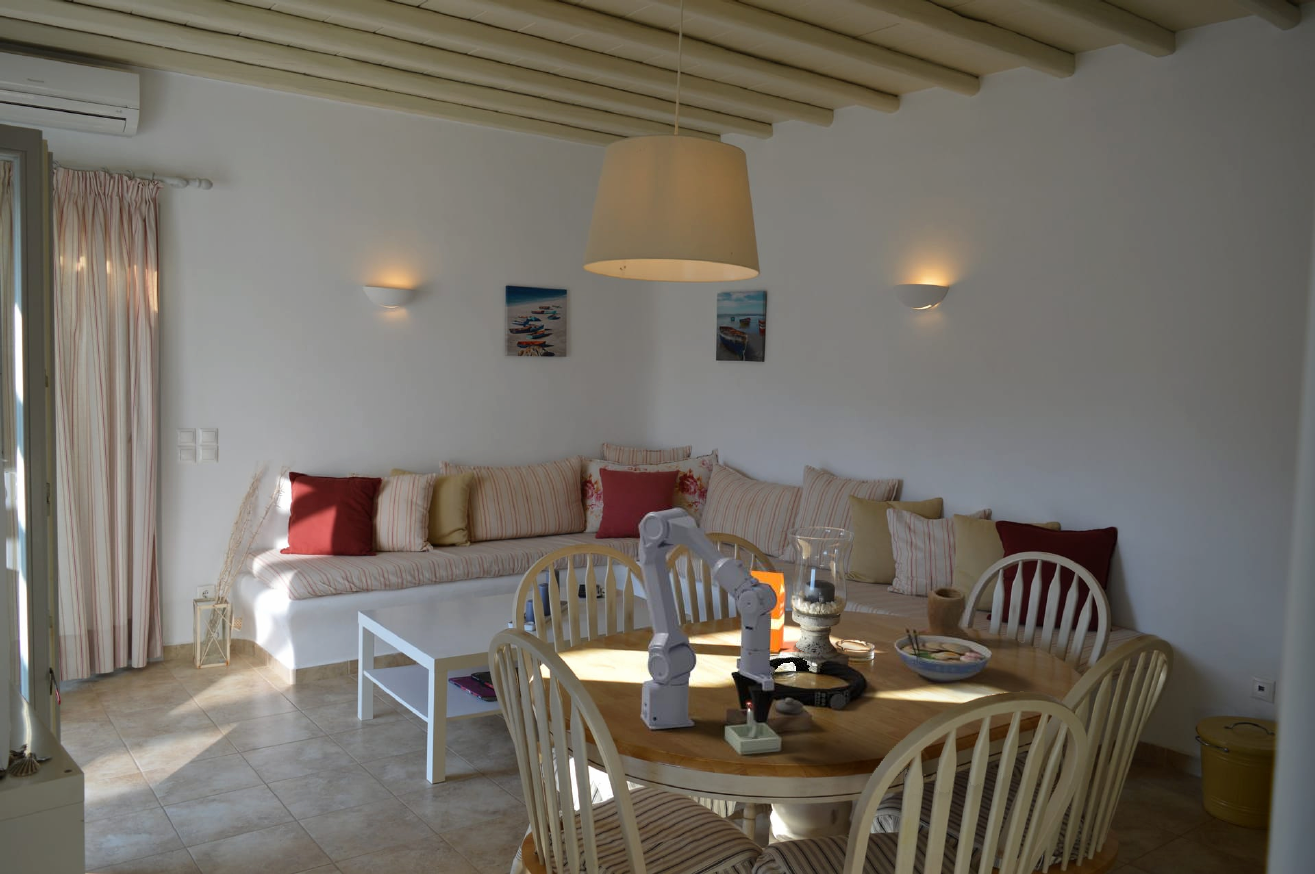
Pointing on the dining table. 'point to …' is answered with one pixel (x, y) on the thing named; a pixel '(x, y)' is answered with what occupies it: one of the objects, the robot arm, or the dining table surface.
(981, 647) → the ramen bowl
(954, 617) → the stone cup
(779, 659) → the cable lock
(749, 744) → the tray
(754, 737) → the lock pin
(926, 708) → the dining table surface
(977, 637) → the dining table surface
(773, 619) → the orange juice
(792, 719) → the block
